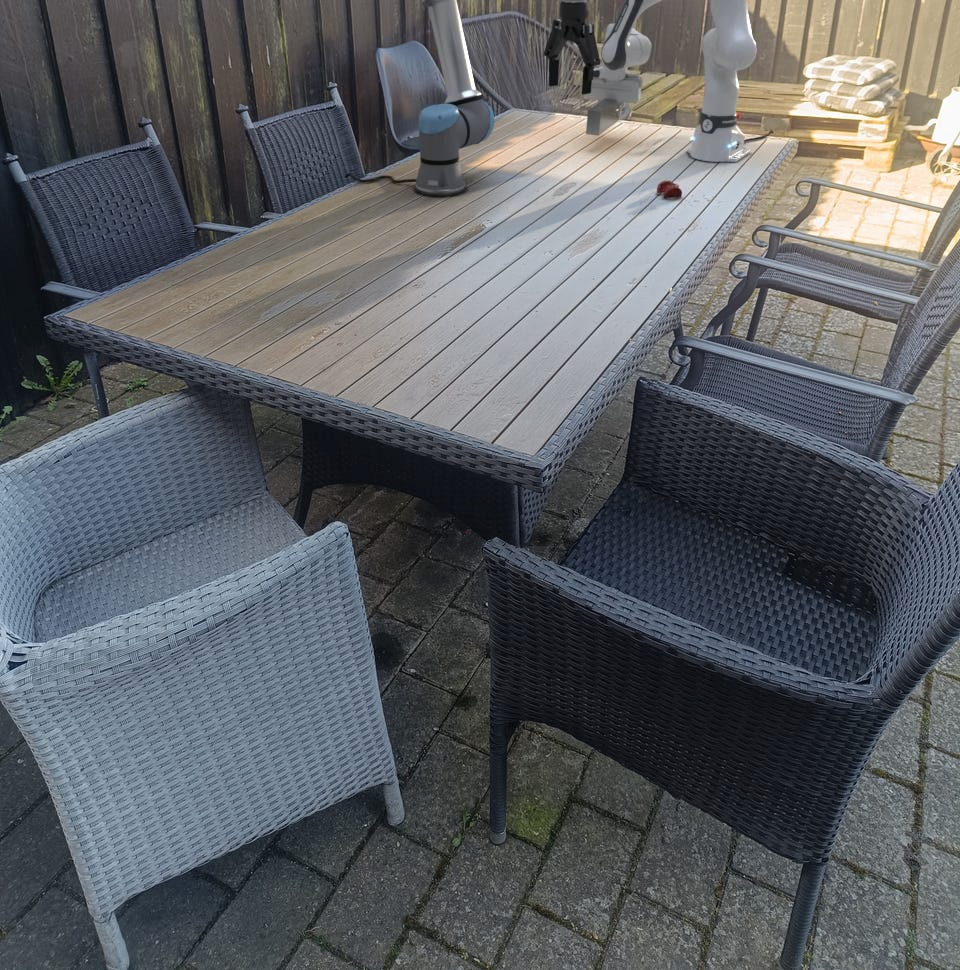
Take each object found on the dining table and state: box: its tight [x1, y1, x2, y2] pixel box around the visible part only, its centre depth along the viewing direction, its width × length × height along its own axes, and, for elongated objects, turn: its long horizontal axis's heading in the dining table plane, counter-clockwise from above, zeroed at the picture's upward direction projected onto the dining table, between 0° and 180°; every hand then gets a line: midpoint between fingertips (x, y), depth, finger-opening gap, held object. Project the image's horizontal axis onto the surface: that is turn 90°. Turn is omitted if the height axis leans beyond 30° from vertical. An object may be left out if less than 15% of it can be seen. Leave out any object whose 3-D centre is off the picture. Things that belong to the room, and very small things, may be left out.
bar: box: [585, 99, 621, 137], centre depth 297 cm, size 26×5×8 cm, turn 157°
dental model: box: [656, 180, 683, 200], centre depth 252 cm, size 6×4×8 cm
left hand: (569, 89), depth 231 cm, fingers open, 13 cm apart
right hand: (610, 114), depth 305 cm, fingers closed on bar, 4 cm apart
